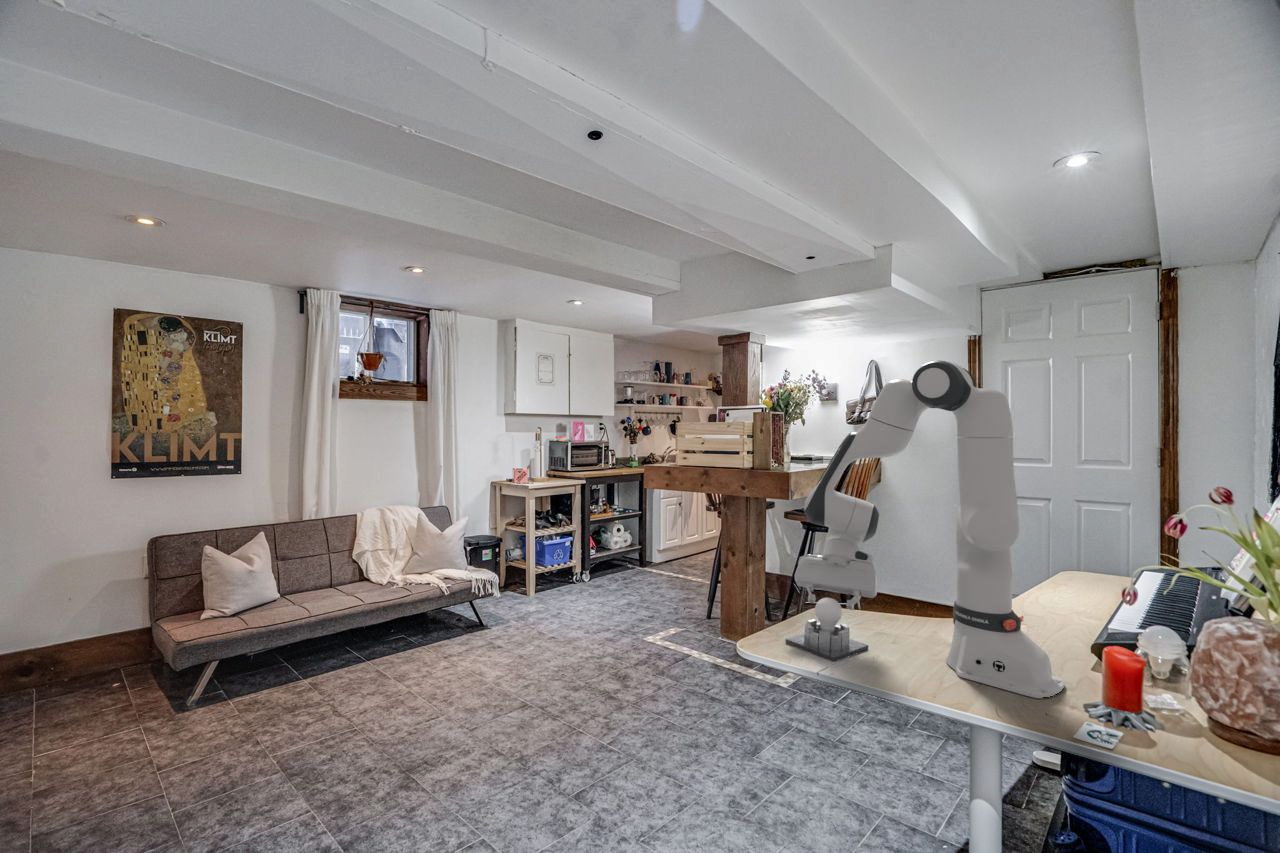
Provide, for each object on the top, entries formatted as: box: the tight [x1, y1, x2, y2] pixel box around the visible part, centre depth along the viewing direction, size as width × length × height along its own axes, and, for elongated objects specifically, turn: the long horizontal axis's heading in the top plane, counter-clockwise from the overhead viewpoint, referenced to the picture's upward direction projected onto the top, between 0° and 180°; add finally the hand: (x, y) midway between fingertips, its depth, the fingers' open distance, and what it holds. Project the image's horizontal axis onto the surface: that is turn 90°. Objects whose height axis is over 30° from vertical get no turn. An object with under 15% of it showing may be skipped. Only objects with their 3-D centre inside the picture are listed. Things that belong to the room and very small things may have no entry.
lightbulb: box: [814, 597, 843, 636], centre depth 147 cm, size 6×6×11 cm
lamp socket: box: [785, 618, 869, 663], centre depth 147 cm, size 14×14×5 cm
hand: (830, 605), depth 148 cm, fingers open, 8 cm apart
